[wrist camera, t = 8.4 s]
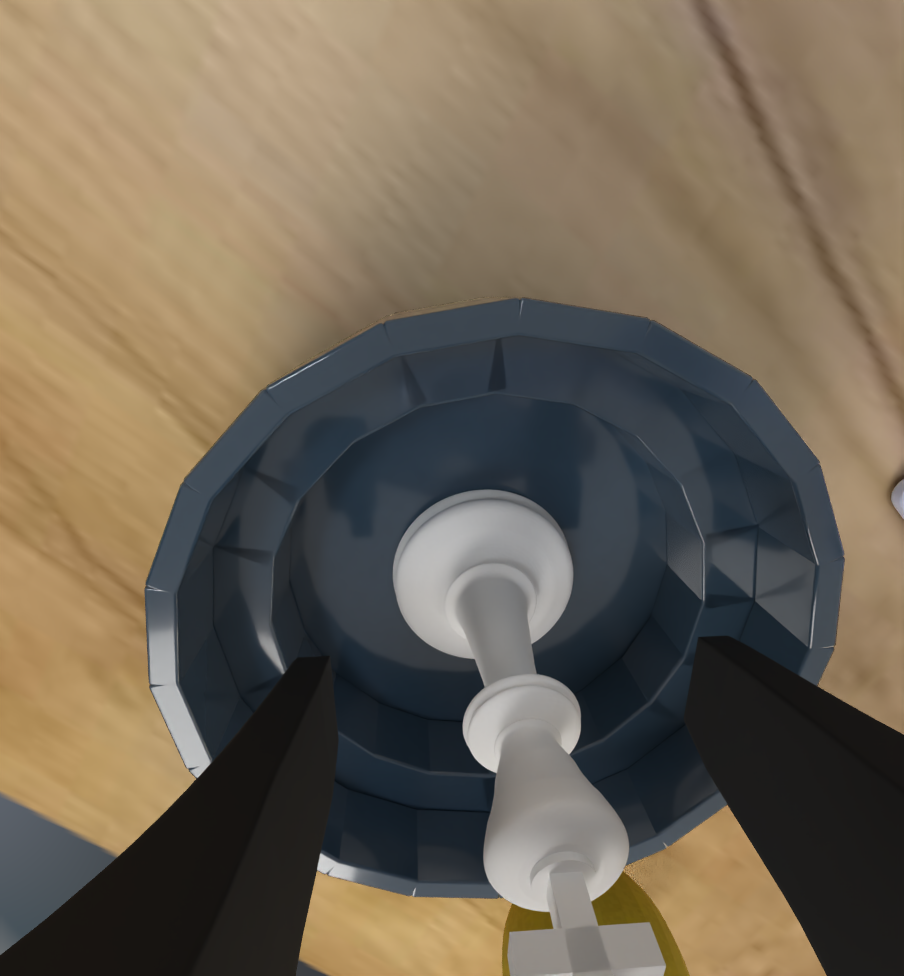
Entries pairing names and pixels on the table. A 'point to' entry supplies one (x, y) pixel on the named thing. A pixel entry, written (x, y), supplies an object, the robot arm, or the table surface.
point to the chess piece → (523, 726)
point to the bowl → (520, 470)
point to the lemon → (607, 921)
